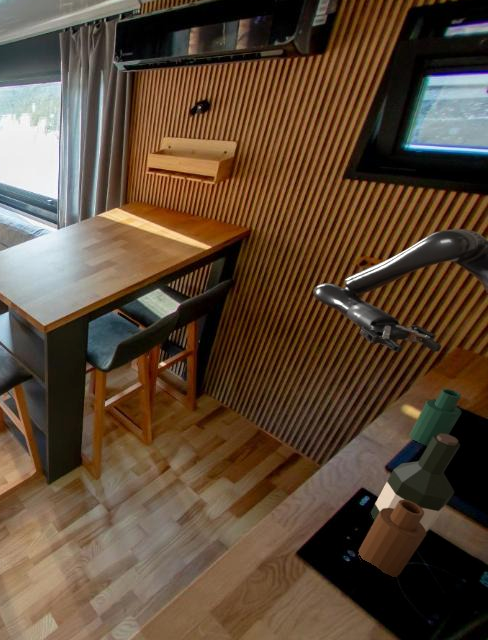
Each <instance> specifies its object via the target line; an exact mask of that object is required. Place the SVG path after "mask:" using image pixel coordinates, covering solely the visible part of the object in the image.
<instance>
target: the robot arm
mask: <svg viewBox="0 0 488 640" xmlns="http://www.w3.org/2000/svg"><path fill="white" fill-rule="evenodd" d="M445 262H452V263H454V264H456V265H457V266H459V267H460V268H462V269H464V270H465V271H467V272H468V273H470V274H471V275H472V276H473V277H474V278H476V279H477V280H478V281H479V283H480V284H481V285H482V287H483V289H484V290H485V292H486V293H487V294H488V239H487V238H485V236H483V235H481V233H478V232H476V231H474V230H470V229H465V228H456V229H445V230H444V229H443V230H439V231H436V232H433V233H430V234H429V235H428V236H426V237H424V238H423V239H421V240H419V241H418V242H416V243H414V244H413V245H411V246H410V247H408V248H407V249H405V250H403V251H401V252H399V253H397V254H395V255H394V256H391V257H390V258H389V257H388V258H387V259H386V260H382V261H381V262H378V263H376V264H373V265H371V266H368V267H366V268H364V269H362V270H360V271H358V272H356V273H353V274H350V275H348V276H347V277H346V278H345V279H344V282H343V283H344V287H342V286H340V285H337V284H334V283H331V282H322V283H319V284H317V285H316V286H315V287H313V292H312V294H313V296H314V298H315V299H316V300H317V301H319V302H320V303H321V304H324V305H326V306H328V307H329V308H332V309H334V310H335V311H338V312H339V313H340V314H341V315H342V316H344V317H346V318H347V319H349V321H351V322H352V323H353V324H355V326H357V327H358V328H360V330H359V335H360V336H362V337H363V338H365V340H367V341H368V342H369V343H371V344H373V345H377V344H380V345H382V346H385V347H387V348H388V349H390V350H392V351H394V352H395V353H401V352H402V350H403V345H401V344H400V343H398V342H397V341H396V340H401V341H407V342H409V343H419V344H421V345H423V346H424V347H426V348H428V349H429V350H431V351H432V352H437V353H438V352H440V350H441V348H442V344H440V343H438V342H437V341H435V339H436V337H437V335H436V334H434V333H432V332H430V331H428V330H427V329H426V328H423V327H421V326H420V325H417V324H413V325H412V326H410V327H407V326H405V325H402V324H400V322H399V321H398V319H397V318H396V317H394V316H393V315H391V314H389V313H387V312H386V311H384V310H383V309H381V308H379V307H377V306H375V305H372V304H371V303H369V302H367V301H365V300H364V299H362V298H361V297H363V296H364V295H366V294H368V293H370V292H373V291H374V290H377V289H380V288H382V287H385V286H387V285H389V284H391V283H394V282H396V281H398V280H399V279H400V278H402V277H404V276H406V275H408V274H411V273H412V272H415V271H418V270H420V269H423V268H427V267H430V266H434V265H438V264H441V263H445ZM410 334H411V336H410V337H409V335H410Z"/></svg>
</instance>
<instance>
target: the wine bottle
mask: <svg viewBox="0 0 488 640" xmlns="http://www.w3.org/2000/svg"><path fill="white" fill-rule="evenodd" d="M460 447H461V444H460V443H459V439H457V437H455V436H452V434H451V435H450V434H449V435H448V434H443V433H440V434H436V435H435V436H433V438H432V439H431V441H430V443H429V445H428V446H427V447H425V450H424V451H423V453H422V455H421V457H420V458H419V460H418V461H417V460H416V461H410V462H404V463H403V462H402V463H401V464H399V465H397V466H396V467H395V468H394V469H393V470H392V471H391V474H390V475H389V477H388V479H387V481H386V482H385V484H384V486H383V488H382V490H381V492H380V494H379V495H378V498H377V500H376V501H375V503H374V505H373V507H372V509H371V511H370V513H371V515H372V518H373V519H374V521H375V519H376V518H377V516H378V514H379V512H380V511H381V510H382V509H383V508H393V509H395V507H396V505H397V503H398V502H399V500H409V501H411V502H413V503H415V504H417V505H418V506H420V507H421V508H422V509H423V511H424V516H423V517H422V519H421V520H420V523H421V524H422V526H423V527H424V528H425V531H426V535H427V534H428V533H429V531H430V529H432V527H433V525H434V524H435V522H436V521H437V519H438V517H439V516H440V515H441V513H442V512H443V510H444V509H445V508H446V506H447V504H448V503H449V502H450V500H451V498H452V497H453V495H454V494H455V490H454V488H453V487H452V485H451V483H450V481H449V480H448V477H447V476H446V473H445V471H446V469H447V467H448V466H449V465H450V463H451V461H452V460H453V458H454V457H455V455H456V453H457V452H458V450H459V449H460ZM372 518H371V519H372ZM373 519H372V520H373ZM374 521H373V522H374Z"/></svg>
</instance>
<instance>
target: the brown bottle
mask: <svg viewBox="0 0 488 640" xmlns="http://www.w3.org/2000/svg"><path fill="white" fill-rule="evenodd" d="M423 516H424V511H423V509H422V508H421V507H420V506H418V505H417V504H415V503H413V502H411V501H409V500H399V502H398V503H397V505H396V507H395V509H393V508H383V509H382V510H381V511H380V512H379V514H378V516H377V518H376V519H375V521H373V523H372V525H371V527H370V528H369V530H368V532H367V534H366V536H365V537H364V539H363V541H362V543H361V545H360V547H359V549H358V552H359V554H358V556H359V555H360V556H361V558H362V559H363V560H365V561H367V562H369V563H371V564H372V565H374V566H376V567H377V568H378V569H380V570H381V571H382V572H383V573H385V574H388V575H390V576H392V577H396V578H398V577H399V576H400V575H401V573H402V571H403V570H404V569H405V568H406V565H408V563H409V561H410V559H411V558H412V557H413V555H414V553H416V551H417V549H418V548H419V546H420V545H421V543H422V541H423V540H424V539H425V537H426V536H427V534H426V531H425V528H424V527H423V526H422V524H421V523H420V520H421V519H422V517H423ZM398 575H399V576H398ZM397 576H398V577H397Z"/></svg>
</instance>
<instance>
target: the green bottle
mask: <svg viewBox="0 0 488 640" xmlns="http://www.w3.org/2000/svg"><path fill="white" fill-rule="evenodd" d="M461 398H462V394H461V393H460V392H458V391H457V390H454V389H450V388H442V389H441V390H440V393H439V394H438V396H437V398H431V399H428V400H426V402H425V404H424V405H423V407H422V410H421V412H420V414H419V415H418V417H417V419H416V421H415V423H414V425H413V427H412V428H411V431H410V432H409V438H410V439H411V440H412V441H413V440H415V441H417V442H418V443H422V444H424V445H426V446H428V445H429V443H430V441H431V439H432V438H433V436H435V435H436V434H440V433H443V434H448V435H450V433H451V432H452V429H453V428H454V427H455V424H456V423H457V422H458V419H459V418H460V416H461V414H462V410H461V408H460V407H458V406H457V404H458V403H459V401H460V399H461ZM415 441H414V442H415ZM418 443H417V444H418Z"/></svg>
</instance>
